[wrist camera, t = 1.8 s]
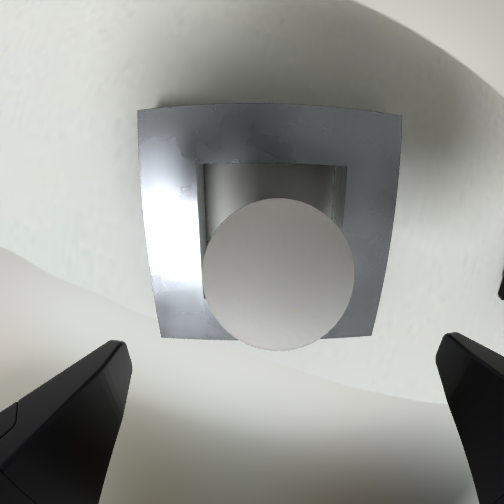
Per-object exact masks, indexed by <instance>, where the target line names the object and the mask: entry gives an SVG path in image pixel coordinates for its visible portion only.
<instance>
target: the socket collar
mask: <svg viewBox="0 0 504 504" xmlns="http://www.w3.org/2000/svg"><path fill="white" fill-rule="evenodd" d="M137 117H138V148H139V167H140V182H141V195H142V206H143V217H144V226H145V235H146V244H147V252H148V259H149V266H150V273H151V280H152V287H153V293H154V299H155V305H156V311H157V316H158V322H159V327H160V333H161V337H162V338H163V337H164V338H181V339H182V338H183V339H205V340H238V339H236V338H235V337H233V336H232V335H231V334H230V333H228V332H227V331H226V330H225V329H224V328H223V327H222V326H221V325H220V323H219V322H218V321H217V319H216V318H215V316H214V315H213V313H212V312H211V310H210V308H209V305H208V303H207V301H206V298H205V294H204V290H203V284H202V267H203V259H204V255H205V252H206V249H207V239H206V218H205V193H204V164H213V163H287V164H316V165H335V174H334V191H333V206H332V219H331V220H332V221H333V222H334V223H335V224H336V225H337V227H338V228H339V229H340V230H341V232H342V234H343V235H344V237H345V239H346V240H347V243H348V245H349V248H350V251H351V253H352V258H353V264H354V285H353V291H352V295H351V298H350V301H349V304H348V306H347V308H346V310H345V312H344V314H343V315H342V317H341V318H340V320H339V321H338V322H337V324H336V325H335V326H334V327H333V328H332V329H331V330H330V331H329V332H328V333H326V334H325V335H324V336H322V337H321V338H320V339H327V338H345V337H360V336H371V335H372V331H373V327H374V323H375V319H376V314H377V310H378V306H379V301H380V296H381V292H382V287H383V282H384V277H385V271H386V266H387V260H388V254H389V248H390V242H391V236H392V229H393V222H394V214H395V206H396V197H397V188H398V177H399V165H400V150H401V130H402V116H399V115H393V114H387V113H380V112H373V111H366V110H358V109H349V108H339V107H328V106H315V105H299V104H273V103H228V104H202V105H186V106H173V107H162V108H152V109H144V110H137Z"/></svg>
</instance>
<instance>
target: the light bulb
mask: <svg viewBox="0 0 504 504" xmlns="http://www.w3.org/2000/svg"><path fill="white" fill-rule="evenodd" d="M202 284H203V290H204V294H205V298H206V301H207V303H208V305H209V308H210V310H211V312H212V313H213V315H214V316H215V318H216V319H217V321H218V322H219V323H220V325H221V326H222V327H223V328H224V329H225V330H226V331H227V332H228V333H230V334H231V335H232V336H233V337H235V338H236V339H238V340H240V341H242V342H243V343H245V344H247V345H250V346H252V347H255V348H259V349H263V350H270V351H286V350H293V349H297V348H301V347H304V346H306V345H309V344H311V343H313V342H315V341H316V340H318V339H320V338H321V337H322V336H324V335H325V334H326V333H328V332H329V331H330V330H331V329H332V328H333V327H334V326H335V325H336V324H337V322H338V321H339V320H340V318H341V317H342V315H343V314H344V312H345V310H346V308H347V306H348V304H349V301H350V298H351V295H352V291H353V285H354V264H353V258H352V253H351V251H350V248H349V245H348V243H347V240H346V239H345V237H344V235H343V234H342V232H341V230H340V229H339V228H338V227H337V225H336V224H335V223H334V222H333V221H332V220H331V219H330V218H329V217H328V216H327V215H325V214H324V213H323V212H322V211H320V210H318V209H316V208H315V207H313V206H311V205H309V204H306V203H303V202H301V201H297V200H292V199H287V198H271V199H264V200H260V201H256V202H253V203H250V204H248V205H246V206H244V207H242V208H240V209H238V210H237V211H235V212H234V213H233V214H231V215H230V216H229V217H228V218H227V219H226V220H225V221H223V222H222V223H221V225H220V226H219V227H218V229H217V230H216V231H215V233H214V234H213V236H212V238H211V240H210V242H209V244H208V246H207V249H206V252H205V255H204V259H203V267H202Z"/></svg>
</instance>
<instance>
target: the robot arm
mask: <svg viewBox="0 0 504 504" xmlns="http://www.w3.org/2000/svg"><path fill="white" fill-rule="evenodd" d="M499 298H500V299H501V300H504V280H503V283H502V286H501V289H500V292H499ZM436 365H437V368H438V371H439V375H440V378H441V381H442V385H443V388H444V392H445V395H446V399H447V402H448V405H449V408H450V411H451V413H452V416H453V419H454V421H455V424H456V427H457V430H458V433H459V435H460V439H461V441H462V444H463V447H464V451H465V454H466V457H467V460H468V463H469V467H470V470H471V473H472V477H473V481H474V484H475V488H476V492H477V496H478V500H479V504H504V357H503V356H502V355H500V354H498V353H496V352H494V351H492V350H490V349H488V348H486V347H484V346H483V345H481V344H479V343H477V342H475V341H473V340H471V339H469V338H467V337H465V336H463V335H462V334H460V333H457V332H453V333H447V334H445V335H444V336H443V338H442V341H441V344H440V346H439V349H438V351H437V354H436ZM131 374H132V363H131V359H130V356H129V353H128V349H127V346H126V344H125V342H123V341H117V340H110V341H108V342H107V343H105V344H104V345H102V346H100V347H99V348H97V349H96V350H94V351H93V352H92V353H90V354H88V355H87V356H85V357H84V358H82V359H81V360H79V361H78V362H76V363H75V364H73V365H72V366H70V367H68V368H67V369H65V370H64V371H63V372H61V373H60V374H58V375H56V376H55V377H53V378H52V379H50V380H49V381H47V382H46V383H44V384H43V385H41V386H40V387H38V388H37V389H35V390H34V391H32V392H31V393H29V394H27V395H26V396H24V397H23V398H21V399H20V400H19V401H18V402H15V403H14V404H12V405H11V406H9V407H8V408H6V409H5V410H3V411H2V412H0V504H98V503H99V499H100V495H101V492H102V488H103V484H104V480H105V476H106V473H107V469H108V466H109V462H110V459H111V455H112V451H113V448H114V445H115V442H116V438H117V435H118V432H119V428H120V425H121V422H122V418H123V414H124V409H125V403H126V398H127V394H128V389H129V384H130V378H131Z"/></svg>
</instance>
